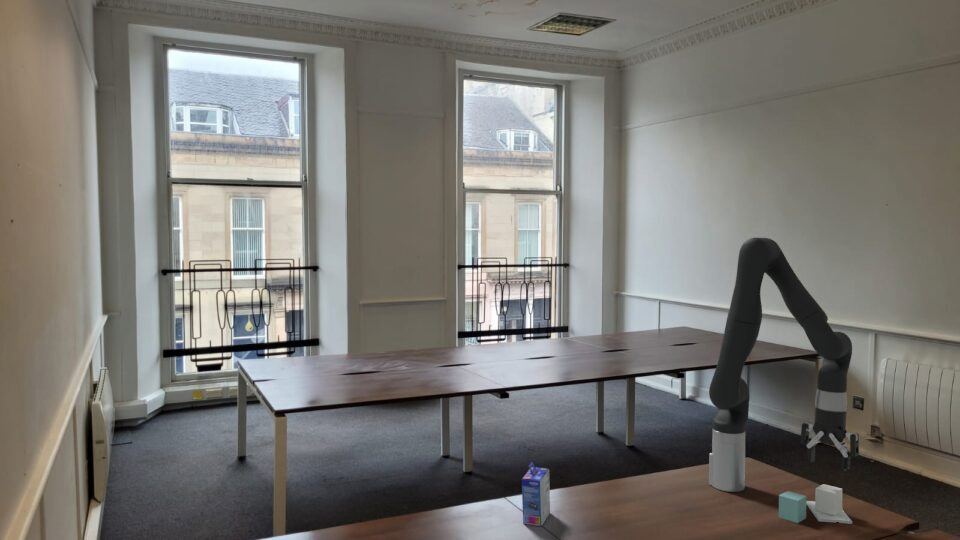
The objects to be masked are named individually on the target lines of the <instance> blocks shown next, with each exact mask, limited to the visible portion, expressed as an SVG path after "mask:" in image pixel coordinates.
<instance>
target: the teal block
mask: <svg viewBox="0 0 960 540" xmlns="http://www.w3.org/2000/svg"><path fill="white" fill-rule="evenodd" d="M806 501H807V495H803V494H800V493H797V492H794V491H789V490H787V491H785V492H783V493H781V494H779V495H778V518H779V519H783V520H786V521H788V522H793V523H795V524H799V523H801V522H802V521H804V520H805V519H807V504H806Z"/></svg>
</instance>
